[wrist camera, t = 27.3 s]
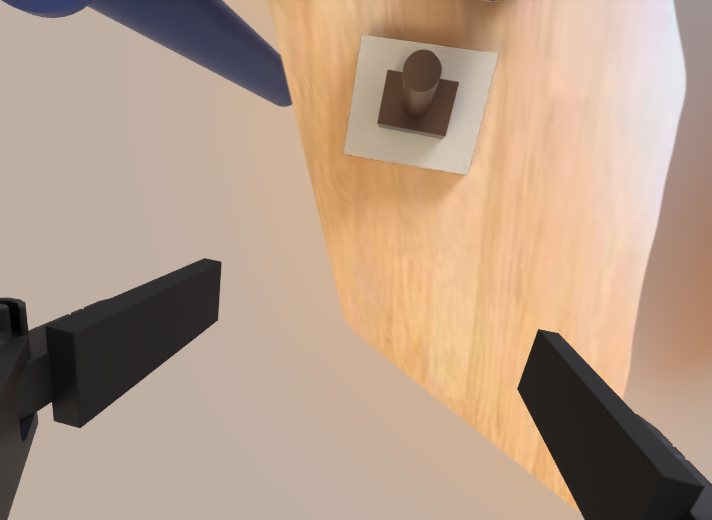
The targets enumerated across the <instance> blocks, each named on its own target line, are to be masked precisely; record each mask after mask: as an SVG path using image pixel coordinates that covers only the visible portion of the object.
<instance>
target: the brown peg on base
mask: <svg viewBox="0 0 712 520" xmlns="http://www.w3.org/2000/svg"><path fill="white" fill-rule="evenodd" d="M441 74H442V64H441V61H440V59H439V57H438V56H437V55H436V54H435V53H434V52H432V51H430V50H426V49H422V50H418V51H415V52H414V53H412V54H411V55H410V56H409V57H408V58H407V60H406V61H405V63H404V66H403V72H400V71H394V70H387V75H386V80H385V85H384V90H383V95H382V101H381V106H380V111H379V116H378V121H377V124H378V125H379V127H381V128H386V129H391V130H397V131H402V132H407V133H412V134H418V135H423V136H428V137H433V138H438V139H443V138H444V137H445V136H446V133H447V129H448V125H449V121H450V117H451V113H452V109H453V105H454V101H455V97H456V93H457V89H458V86H459V82H457V81H451V80H445V79H440V77H441Z"/></svg>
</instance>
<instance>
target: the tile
mask: <svg viewBox="0 0 712 520" xmlns="http://www.w3.org/2000/svg"><path fill="white" fill-rule="evenodd" d="M422 49H426V50H430V51H432V52H434V53H435V54H436V55H437V56H438V57H439V59H440V61H441V64H442V74H441V77H440V79H445V80H451V81H457V82H459V86H458V89H457V93H456V97H455V101H454V105H453V109H452V113H451V117H450V121H449V125H448V129H447V133H446V136H445V137H444V138H443V139H438V138H433V137H428V136H423V135H418V134H412V133H407V132H402V131H397V130H391V129H386V128H381V127H379V125H378V124H377V121H378V116H379V111H380V106H381V101H382V95H383V90H384V85H385V80H386V75H387V70H394V71H400V72H403V66H404V63H405V61H406V60H407V58H408V57H409V56H410V55H411V54H412V53H414V52H415V51H418V50H422ZM497 57H498V53H491V52H484V51H476V50H469V49H462V48H455V47H448V46H441V45H433V44H426V43H419V42H412V41H405V40H398V39H390V38H383V37H376V36H369V35H362V36H361V43H360V49H359V56H358V62H357V69H356V75H355V82H354V89H353V95H352V102H351V108H350V115H349V121H348V128H347V135H346V141H345V148H344V154H346V155H351V156H357V157H363V158H368V159H374V160H380V161H385V162H391V163H397V164H403V165H408V166H414V167H420V168H426V169H431V170H437V171H443V172H449V173H454V174H460V175H468V172H469V168H470V164H471V160H472V156H473V152H474V148H475V144H476V140H477V136H478V133H479V129H480V125H481V121H482V117H483V113H484V109H485V105H486V101H487V97H488V93H489V89H490V85H491V81H492V77H493V73H494V69H495V65H496V61H497Z"/></svg>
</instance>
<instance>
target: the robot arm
mask: <svg viewBox="0 0 712 520" xmlns="http://www.w3.org/2000/svg"><path fill="white" fill-rule="evenodd" d="M220 278H221V262H220V261H215V260H210V259H206V258H205V259H202V260H200V261H197V262H195V263H192V264H190V265H188V266H185V267H183V268H181V269H178V270H176V271H174V272H171V273H169V274H167V275H165V276H162V277H160V278H158V279H155V280H152V281H150V282H148V283H146V284H143V285H141V286H138V287H136V288H134V289H131V290H129V291H127V292H124V293H122V294H120V295H117V296H115V297H113V298H110V299H106V300H102V301H98V302H96V303H94V304H91V305H89V306H86V307H84V309H79V310H77V311H74V312H72V313H71V315H69V314H67V315H65V316H62V317H60V318H58V319H55V320H53V321H50V322H48V323H46V324H43V325H41V326H39V327H36V328H34V329H31V330H29V331H28V324H27V314H26V304H25V302H23V301H22V300H20V299H13V298H0V520H7V519H8V516H9V513H10V509H11V506H12V503H13V500H14V497H15V494H16V491H17V488H18V485H19V482H20V478H21V475H22V472H23V469H24V466H25V463H26V460H27V457H28V453H29V450H30V447H31V444H32V441H33V438H34V435H35V432H36V429H37V425H38V415H37V411H38V410H40V409H42V408H43V407H45V406H46V405H48V404H49V403H51V402H52V406H53V417H54V421H56V422H59V423H64V424H67V425H70V426H74V427H78V428H81V427H82V426H84V425H85V424H86V423H87V422H89V421H90V420H91V419H93V418H94V417H95V416H96V415H98V414H99V413H100V412H102V411H103V410H104V409H105V408H107V407H108V406H109V405H110V404H112V403H113V402H114V401H115V400H116V399H118V398H119V397H121V396H122V395H123V394H125V393H126V392H127V391H128V390H130V388H132V387H133V386H135V385H136V384H137V383H139V382H140V381H141V380H142V379H144V378H145V377H146V376H147V375H149V374H150V373H151V372H152V371H154V370H155V369H156V368H158V367H159V366H160V365H161V364H163V363H164V362H165V361H167V360H168V359H169V358H170V357H172V356H173V355H174V354H175V353H177V352H178V351H179V350H180V349H182V348H183V347H184V346H186V345H187V344H188V343H189V342H191V341H192V340H193V339H195V338H196V337H197V336H198V335H200V334H201V333H202V332H204V331H205V330H206V329H207V328H209V327H210V326H211V325H212V324H214V323H215V322H216V321H218V309H219V294H220ZM517 389H518V391H519V393H520V395H521V397H522V399H523V401H524V403H525V405H526V407H527V409H528V411H529V413H530V415H531V416H532V418H533V420H534V422H535V424H536V426H537V428H538V430H539V432H540V434H541V436H542V438H543V440H544V442H545V444H546V446H547V447H548V449H549V451H550V453H551V455H552V457H553V459H554V461H555V463H556V465H557V467H558V469H559V471H560V473H561V475H562V477H563V479H564V480H565V482H566V484H567V486H568V488H569V490H570V492H571V494H572V496H573V498H574V500H575V502H576V504H577V506H578V508H579V510H580V511H581V513H582V515H583V517H584V519H585V520H712V484H711V483H710V482H709V481H708V480H707V479H706V478H705V477H704V476H703V475H702V474H701V473H700V472H699V471H698V470H697V469H696V468H695V467H694V466H693V465H692V464H691V463H690V462H689V461H688V460H685V456H684V455H683V454H682V453H681V452H680V451H679V450H677V448H676V447H673V446H672V443H671V442H670V441H669V440H668V439H667V438H666V437H665V436H664V435H663V434H662V433H661V432H660V431H659V430H658V429H657V428H655V427H654V426H653V425H651V424H650V423H648V422H647V421H646V420H644V419H643V418H642V417H640V416H639V415H637V414H635V413H634V412H633V411H632V410H631V409H630V408H629V407H628V406H627V405H626V404H625V403H624V401H623V400H622V399H621V398H620V397H619V396H618V395H617V394H616V393H615V392H614V391H613V390H612V389H611V388H610V387H609V386H608V385H607V384H606V383H605V382H604V380H603V379H602V378H601V377H600V376H599V375H598V374H597V373H596V372H595V371H594V370H593V369H592V368H591V367H590V366H589V365H588V364H587V363H586V362H585V361H584V359H583V358H582V357H581V356H580V355H579V354H578V353H577V352H576V351H575V350H574V349H573V348H572V347H571V346H570V345H569V344H568V343H567V342H566V341H565V339H564V338H563V337H562V336H561V335H560V334H559V333H555V332H550V331H545V330H540V329H538V332H537V334H536V337H535V340H534V343H533V346H532V349H531V351H530V354H529V357H528V360H527V363H526V366H525V368H524V371H523V374H522V377H521V380H520V383H519V386H518V388H517Z"/></svg>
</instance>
